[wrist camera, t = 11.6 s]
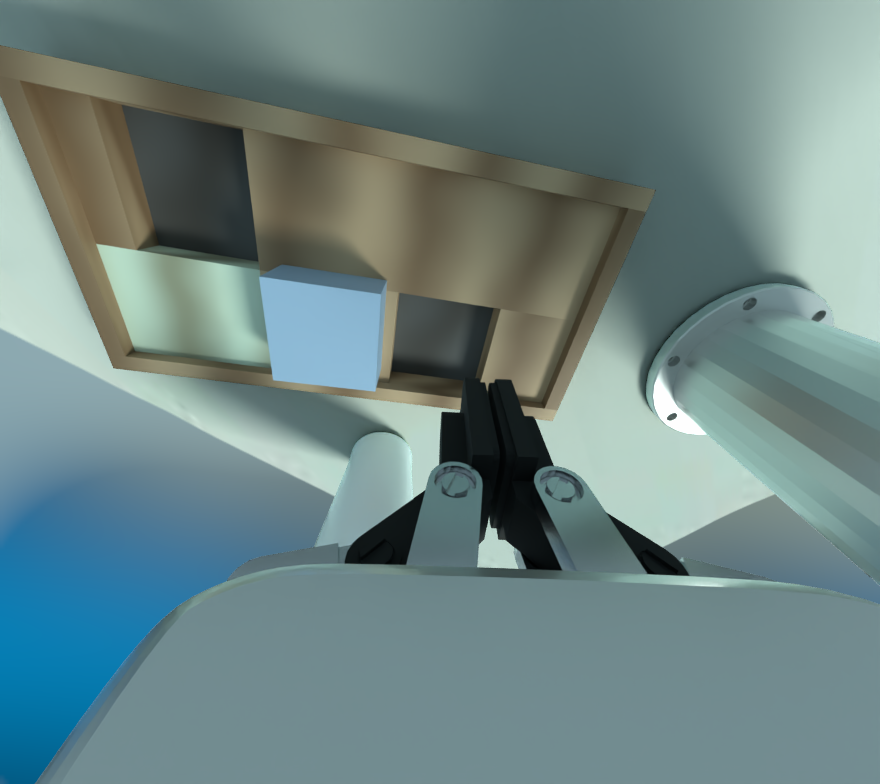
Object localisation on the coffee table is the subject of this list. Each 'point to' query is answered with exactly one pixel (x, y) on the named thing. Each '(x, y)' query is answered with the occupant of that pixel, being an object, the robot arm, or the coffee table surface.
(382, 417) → the coffee table surface
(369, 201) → the box
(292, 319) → the block
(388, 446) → the drinking glass
